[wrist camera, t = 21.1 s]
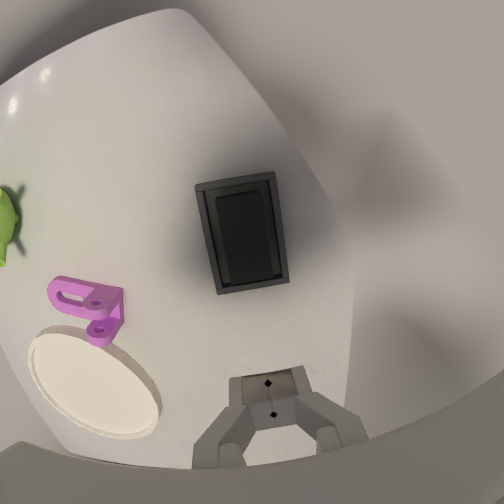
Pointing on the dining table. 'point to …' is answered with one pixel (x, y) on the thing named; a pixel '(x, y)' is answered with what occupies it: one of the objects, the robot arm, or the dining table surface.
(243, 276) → the black rectangular block
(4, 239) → the teapot
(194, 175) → the dining table surface
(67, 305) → the bracket
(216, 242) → the base tray
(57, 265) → the dining table surface
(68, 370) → the plate
